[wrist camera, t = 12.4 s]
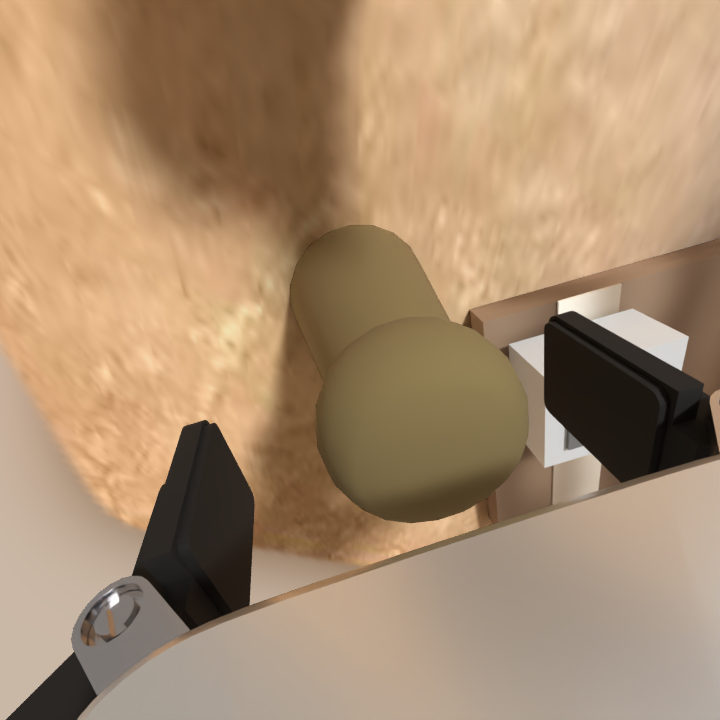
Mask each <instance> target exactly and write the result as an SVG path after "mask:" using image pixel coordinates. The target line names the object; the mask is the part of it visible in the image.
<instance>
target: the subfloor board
mask: <svg viewBox="0 0 720 720" xmlns="http://www.w3.org/2000/svg"><path fill="white" fill-rule="evenodd" d="M629 309H634V310H636V311H638V312H640V313H642V314H644V315H646V316H648V317H650V318H652V319H654V320H656V321H658V322H661V323H663V324H665V325H667V326H669V327H671V328H673V329H675V330H677V331H679V332H681V333H683V334H685V335H687V336H689V339H688V343H687V348H686V352H685V357H684V361H683V366H682V371H683V372H684V373H686V374H688V375H690V376H691V377H693V378H695V379H697V380H699V381H700V382H702V383H704V387H703V392H704V393H706V394H708V395H709V396H711V395H712V394H713V393H714V392H715V391H717V390H720V239H717V240H713V241H710V242H706V243H703V244H699V245H696V246H692V247H689V248H685V249H682V250H678V251H675V252H671V253H667V254H664V255H660V256H657V257H653V258H650V259H646V260H643V261H639V262H636V263H632V264H629V265H625V266H622V267H618V268H615V269H611V270H608V271H604V272H601V273H597V274H593V275H590V276H586V277H583V278H579V279H576V280H572V281H569V282H565V283H562V284H558V285H555V286H551V287H548V288H544V289H541V290H537V291H534V292H530V293H527V294H523V295H519V296H516V297H512V298H509V299H505V300H502V301H498V302H495V303H491V304H488V305H484V306H481V307H477V308H474V309H470V319H471V329H474V330H476V331H477V332H478V333H479V334H481V335H482V336H483V337H484V338H486V339H487V340H488V341H490V342H491V343H492V344H493V345H495V346H496V347H497V348H498V349H499V350H500V351H501V352H502V353H503V354H504V355H505V356H507V357H508V359H509V344H511V343H515V342H518V341H522V340H525V339H529V338H532V337H536V336H539V335H543V334H544V326H545V324H547V323H549V319H550V318H551V317H552V316H555V315H558V314H562V313H565V312H568V311H575V312H577V313H579V314H581V315H583V316H584V317H586V318H588V319H590V320H595V319H598V318H602V317H605V316H609V315H612V314H615V313H619V312H622V311H626V310H629ZM620 483H621V482H620V481H619V480H618V479H617V478H616V477H615V476H614V475H613V474H611V473H610V472H609V471H608V470H607V469H606V468H605V467H604V466H603V465H602V464H601V463H600V462H599V461H598V460H597V459H596V458H595V457H594V456H593V455H592V454H590V455H586V456H583V457H580V458H576V459H573V460H570V461H566V462H563V463H560V464H556V465H553V466H550V467H546V468H544V467H543V466H542V464H541V463H540V462H539V460H538V459H537V458H536V457H535V455H534V454H533V453H532V452H531V450H530V449H529V448H528V446H527V445H525V448H524V452H523V455H522V458H521V460H520V462H519V463H518V465H517V466H516V467H515V469H514V470H513V472H512V473H511V475H510V476H509V478H508V479H507V480H506V481H505V482H504V483H503V484H502V485H501V486H500V487H499V488H498V489H496V490H495V491H494V492H493V493H492V494H491V495H490V496H489V497H488V498H487V502H488V513H489V518H490V520H491V522H492V524H495V523H498V522H502V521H505V520H508V519H511V518H514V517H517V516H520V515H523V514H526V513H529V512H532V511H535V510H539V509H542V508H545V507H548V506H551V505H554V504H557V503H560V502H564V501H567V500H570V499H573V498H576V497H579V496H582V495H586V494H589V493H592V492H595V491H598V490H601V489H604V488H608V487H611V486H614V485H617V484H620Z"/></svg>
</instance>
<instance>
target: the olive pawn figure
mask: <svg viewBox="0 0 720 720" xmlns="http://www.w3.org/2000/svg"><path fill="white" fill-rule="evenodd" d="M290 290H291V307H292V309H293V312H294V314H295V317H296V320H297V322H298V325H299V327H300V329H301V332H302V334H303V336H304V338H305V341H306V343H307V345H308V347H309V350H310V352H311V354H312V357H313V359H314V361H315V363H316V366H317V368H318V370H319V373H320V375H321V377H322V379H323V382H324V383H323V386H322V389H321V391H320V394H319V398H318V401H317V404H316V436H317V447H318V450H319V452H320V455H321V457H322V459H323V461H324V464H325V466H326V468H327V470H328V472H329V474H330V476H331V478H332V480H333V482H334V484H335V486H336V487H337V488H339V489H340V490H341V491H342V492H343V493H344V494H345V495H346V496H347V497H348V498H349V499H350V500H351V501H352V502H354V503H355V504H356V505H358V506H359V507H360V508H362V509H363V510H364V511H366V512H369V513H371V514H373V515H376V516H378V517H380V518H383V519H385V520H390V521H398V522H406V523H416V522H425V521H434V520H439V519H442V518H445V517H448V516H451V515H454V514H457V513H460V512H463V511H465V510H467V509H469V508H470V507H472V506H474V505H476V504H477V503H479V502H481V501H483V500H484V499H486V498H488V497H489V496H490V495H491V494H492V493H493V492H494V491H495V490H496V489H498V488H499V487H500V486H501V485H502V484H503V483H504V482H505V481H506V480H507V479H508V478H509V476H510V475H511V473H512V472H513V470H514V469H515V467H516V466H517V465H518V463H519V462H520V460H521V458H522V455H523V452H524V448H525V445H526V442H527V439H528V432H529V414H528V399H527V394H526V392H525V390H524V388H523V386H522V383H521V381H520V379H519V377H518V376H517V374H516V372H515V370H514V368H513V366H512V364H511V362H510V360H509V359H508V357H507V356H505V355H504V354H503V353H502V352H501V351H500V350H499V349H498V348H497V347H496V346H495V345H493V344H492V343H491V342H490V341H488V340H487V339H486V338H484V337H483V336H482V335H481V334H479V333H478V332H477V331H476V330H474V329H471V328H469V327H466V326H463V325H460V324H457V323H454V322H451V321H450V320H449V318H448V316H447V314H446V312H445V310H444V308H443V306H442V304H441V303H440V301H439V299H438V297H437V295H436V293H435V291H434V289H433V287H432V286H431V284H430V282H429V280H428V278H427V276H426V274H425V272H424V270H423V269H422V267H421V265H420V263H419V261H418V260H417V258H416V256H415V255H414V253H413V251H412V249H411V248H410V246H409V245H407V244H406V243H405V242H404V241H403V240H401V239H400V238H399V237H398V236H397V235H395V234H394V233H392V232H390V231H387V230H384V229H381V228H379V227H376V226H373V225H349V226H346V227H343V228H340V229H337V230H334V231H330V232H328V233H327V234H325V235H324V236H322V237H321V238H320V239H318V240H317V241H316V242H314V243H313V244H311V245H310V246H309V248H308V249H307V250H306V252H305V253H304V255H303V256H302V257H301V259H300V260H299V262H298V263H297V265H296V268H295V271H294V274H293V278H292V281H291V284H290Z"/></svg>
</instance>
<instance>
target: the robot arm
mask: <svg viewBox="0 0 720 720" xmlns="http://www.w3.org/2000/svg"><path fill="white" fill-rule="evenodd" d="M703 387H704V383H702V382H700V381H699V380H697V379H695V378H693V377H691V376H690V375H688V374H686V373H684V372H683V371H681V370H679V369H677V368H675V367H674V366H672V365H670V364H668V363H666V362H665V361H663V360H661V359H659V358H658V357H656V356H654V355H652V354H650V353H649V352H647V351H645V350H643V349H641V348H640V347H638V346H636V345H634V344H633V343H631V342H629V341H627V340H625V339H624V338H622V337H620V336H618V335H616V334H615V333H613V332H611V331H609V330H608V329H606V328H604V327H602V326H600V325H599V324H597V323H595V322H593V321H591V320H590V319H588V318H586V317H584V316H583V315H581V314H579V313H577V312H575V311H568V312H565V313H562V314H558V315H555V316H552V317H551V318H550V319H549V323H547V324H545V326H544V403H545V406H546V409H547V410H548V412H549V413H550V414H551V415H552V416H553V417H554V418H555V419H556V420H557V421H558V422H559V423H560V424H561V425H562V426H563V427H564V428H565V429H567V430H568V431H569V432H570V433H571V434H572V435H573V436H574V437H575V438H576V439H577V440H578V441H579V442H580V443H581V444H582V445H583V446H584V447H585V448H586V449H587V450H588V451H589V452H590V453H591V454H592V455H593V456H594V457H595V458H596V459H597V460H598V461H599V462H600V463H601V464H602V465H603V466H604V467H605V468H606V469H607V470H608V471H609V472H610V473H611V474H613V475H614V476H615V477H616V478H617V479H618V480H619V481H620V482H621V483H620V484H617V485H614V486H611V487H608V488H604V489H601V490H598V491H595V492H592V493H589V494H586V495H582V496H579V497H576V498H573V499H570V500H567V501H564V502H560V503H557V504H554V505H551V506H548V507H545V508H542V509H539V510H535V511H532V512H529V513H526V514H523V515H520V516H517V517H514V518H511V519H508V520H505V521H502V522H498V523H495V524H492V525H489V526H486V527H483V528H480V529H477V530H474V531H471V532H468V533H465V534H462V535H458V536H455V537H452V538H449V539H446V540H443V541H440V542H437V543H434V544H431V545H428V546H425V547H422V548H419V549H416V550H413V551H410V552H406V553H403V554H400V555H397V556H394V557H391V558H388V559H385V560H382V561H379V562H376V563H373V564H370V565H367V566H364V567H361V568H358V569H355V570H352V571H350V572H346V573H343V574H340V575H337V576H334V577H331V578H328V579H325V580H322V581H319V582H316V583H313V584H310V585H307V586H305V587H302V588H299V589H296V590H293V591H290V592H287V593H284V594H282V595H279V596H276V597H273V598H270V599H268V600H264V601H262V602H259V603H256V604H253V605H250V606H249V604H250V603H249V602H250V583H251V564H252V544H253V524H254V497H253V494H252V491H251V489H250V487H249V485H248V483H247V481H246V479H245V477H244V475H243V474H242V472H241V470H240V468H239V466H238V464H237V462H236V460H235V458H234V456H233V454H232V452H231V450H230V449H229V447H228V445H227V443H226V441H225V439H224V437H223V435H222V433H221V431H220V429H219V427H218V426H217V424H216V423H212V424H210V423H209V422H208V421H206V420H204V421H200V422H197V423H194V424H190V425H187V426H184V427H183V429H182V432H181V435H180V438H179V441H178V444H177V448H176V451H175V454H174V457H173V460H172V464H171V467H170V470H169V473H168V476H167V479H166V483H165V484H164V485H162V487H161V489H160V491H159V494H158V497H157V500H156V503H155V506H154V509H153V512H152V515H151V518H150V521H149V524H148V527H147V531H146V534H145V537H144V540H143V543H142V546H141V549H140V552H139V555H138V558H137V561H136V564H135V568H134V571H133V574H132V576H129V577H125V578H122V579H120V580H118V581H116V582H114V583H112V584H110V585H109V586H107V587H106V588H105V589H103V590H102V591H100V592H99V593H98V594H97V595H96V596H95V597H94V598H93V599H92V600H91V601H90V602H89V603H88V604H87V606H86V607H85V609H84V610H83V611H82V613H81V614H80V616H79V617H78V619H77V622H76V624H75V626H74V628H73V633H72V638H71V641H72V646H73V650H74V653H73V654H72V655H71V656H70V657H69V658H68V659H67V660H66V661H64V663H63V664H62V665H61V666H59V667H58V668H57V669H56V670H55V671H54V672H53V673H52V675H51V676H49V677H48V678H47V679H46V680H45V681H44V682H43V683H42V684H41V685H40V686H39V687H38V688H37V689H36V690H35V691H34V692H33V693H32V694H31V695H30V696H29V697H28V698H27V699H26V700H25V701H24V702H23V703H22V704H21V705H20V706H19V707H18V708H17V709H16V710H15V711H14V712H13V713H12V714H11V715H10V716H9V717H8V718H7V719H6V720H720V390H717V391H715V392H714V393H713V394H712V395H711V396H709V395H708V394H706V393H704V392H703Z"/></svg>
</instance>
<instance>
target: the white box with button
mask: <svg viewBox="0 0 720 720" xmlns="http://www.w3.org/2000/svg"><path fill="white" fill-rule="evenodd" d="M591 321H593V322H595V323H597V324H599V325H600V326H602V327H604V328H606V329H608V330H609V331H611V332H613V333H615V334H616V335H618V336H620V337H622V338H624V339H625V340H627V341H629V342H631V343H633V344H634V345H636V346H638V347H640V348H641V349H643V350H645V351H647V352H649V353H650V354H652V355H654V356H656V357H658V358H659V359H661V360H663V361H665V362H666V363H668V364H670V365H672V366H674V367H675V368H677V369H679V370H681V371H682V366H683V361H684V357H685V352H686V348H687V343H688V339H689V336H687V335H685V334H683V333H681V332H679V331H677V330H675V329H673V328H671V327H669V326H667V325H665V324H663V323H661V322H658V321H656V320H654V319H652V318H650V317H648V316H646V315H644V314H642V313H640V312H638V311H636V310H634V309H629V310H626V311H622V312H619V313H615V314H612V315H609V316H605V317H602V318H598V319H595V320H591ZM509 360H510V362H511V364H512V366H513V368H514V370H515V372H516V374H517V376H518V377H519V379H520V381H521V383H522V386H523V388H524V390H525V392H526V394H527V399H528V414H529V432H528V439H527V442H526V445H527V446H528V448H529V449H530V450H531V452H532V453H533V454H534V455H535V457H536V458H537V459H538V460H539V462H540V463H541V464H542V466H543V467H544V468H546V467H550V466H553V465H556V464H560V463H563V462H566V461H570V460H573V459H576V458H580V457H583V456H586V455H590V454H591V453H590V452H589V451H588V450H587V449H586V448H585V447H584V446H583V445H582V444H581V443H580V442H579V441H578V440H577V439H576V438H575V437H574V436H573V435H572V434H571V433H570V432H569V431H568V430H567V429H565V428H564V427H563V426H562V425H561V424H560V423H559V422H558V421H557V420H556V419H555V418H554V417H553V416H552V415H551V414H550V413H549V412H548V410H547V409H546V406H545V403H544V334H543V335H539V336H536V337H532V338H529V339H525V340H522V341H518V342H515V343H511V344H509Z"/></svg>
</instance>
